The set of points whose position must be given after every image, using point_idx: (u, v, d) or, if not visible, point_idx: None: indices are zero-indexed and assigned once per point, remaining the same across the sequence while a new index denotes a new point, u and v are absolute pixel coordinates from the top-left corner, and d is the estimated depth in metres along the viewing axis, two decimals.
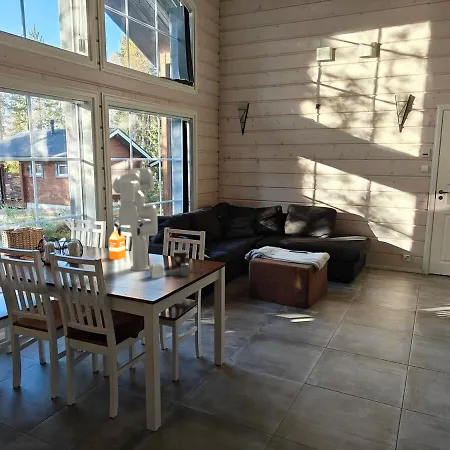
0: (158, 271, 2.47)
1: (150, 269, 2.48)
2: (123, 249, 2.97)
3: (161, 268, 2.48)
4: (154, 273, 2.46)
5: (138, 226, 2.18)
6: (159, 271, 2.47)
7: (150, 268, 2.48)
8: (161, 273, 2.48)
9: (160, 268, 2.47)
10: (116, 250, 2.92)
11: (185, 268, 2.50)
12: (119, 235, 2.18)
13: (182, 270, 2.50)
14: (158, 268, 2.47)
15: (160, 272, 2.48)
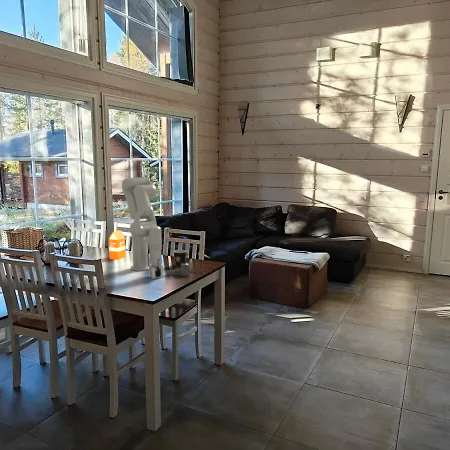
0: None
1: (150, 269, 2.48)
2: (123, 249, 2.97)
3: (161, 268, 2.48)
4: (154, 273, 2.46)
5: None
6: None
7: (150, 268, 2.48)
8: (161, 273, 2.48)
9: None
10: (116, 250, 2.92)
11: (185, 268, 2.50)
12: (160, 275, 2.48)
13: (182, 270, 2.50)
14: None
15: None
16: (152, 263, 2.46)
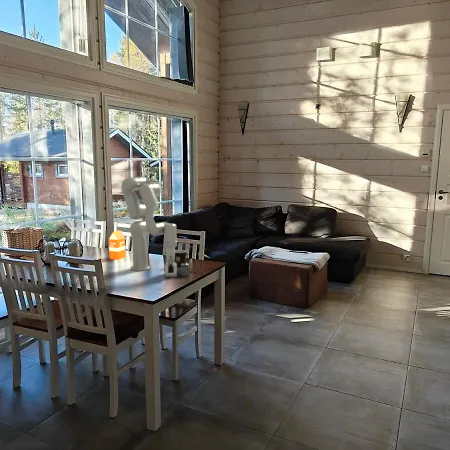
0: None
1: None
2: (123, 249, 2.97)
3: (174, 267, 2.50)
4: (167, 271, 2.50)
5: None
6: None
7: None
8: (174, 272, 2.51)
9: (173, 267, 2.50)
10: (116, 250, 2.92)
11: (185, 268, 2.50)
12: None
13: (182, 270, 2.50)
14: None
15: None
16: None
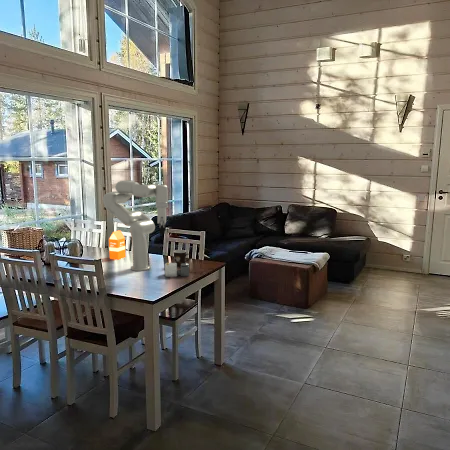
0: (171, 269, 2.50)
1: None
2: (123, 249, 2.97)
3: (174, 267, 2.50)
4: (167, 271, 2.50)
5: None
6: (172, 270, 2.50)
7: None
8: (174, 272, 2.51)
9: (173, 267, 2.50)
10: (116, 250, 2.92)
11: (185, 268, 2.50)
12: (164, 233, 2.49)
13: (182, 270, 2.50)
14: (171, 267, 2.50)
15: (173, 270, 2.51)
16: None
